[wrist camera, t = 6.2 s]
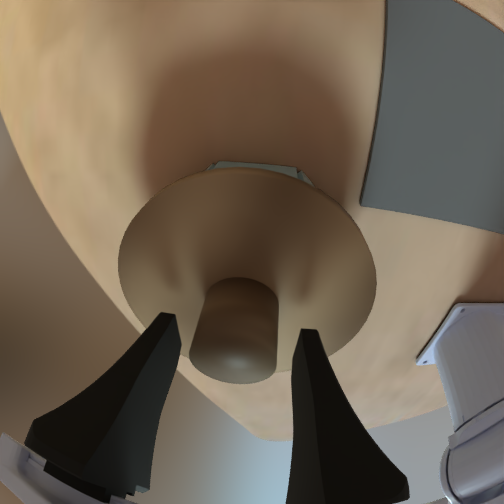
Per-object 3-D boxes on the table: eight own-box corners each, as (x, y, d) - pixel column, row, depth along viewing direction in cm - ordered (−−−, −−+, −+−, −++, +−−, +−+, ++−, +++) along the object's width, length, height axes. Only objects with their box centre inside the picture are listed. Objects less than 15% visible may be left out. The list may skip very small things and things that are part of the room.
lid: (410, 199, 9) (458, 257, 6) (327, 370, 16) (330, 424, 13) (111, 156, 9) (48, 197, 6) (144, 342, 16) (124, 392, 13)
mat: (544, 70, 6) (547, 71, 5) (509, 234, 13) (511, 236, 13) (385, -26, 6) (387, -28, 6) (359, 203, 14) (360, 206, 13)
